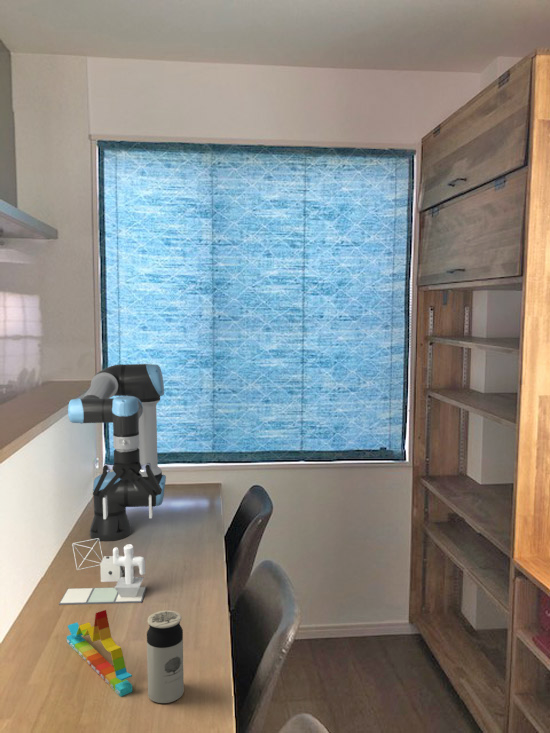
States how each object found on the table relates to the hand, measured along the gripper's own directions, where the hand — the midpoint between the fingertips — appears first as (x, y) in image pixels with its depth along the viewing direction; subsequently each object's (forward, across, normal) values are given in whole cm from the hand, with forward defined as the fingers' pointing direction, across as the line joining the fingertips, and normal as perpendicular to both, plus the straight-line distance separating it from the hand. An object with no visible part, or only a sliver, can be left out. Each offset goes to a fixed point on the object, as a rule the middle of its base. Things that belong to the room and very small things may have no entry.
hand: (128, 517), depth 197 cm
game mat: (+23, -7, -3) cm, 24 cm away
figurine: (+23, 0, -3) cm, 23 cm away
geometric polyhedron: (+24, -17, +21) cm, 36 cm away
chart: (+23, -2, -41) cm, 47 cm away
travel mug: (+22, +16, -54) cm, 60 cm away
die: (+24, -7, +10) cm, 26 cm away
